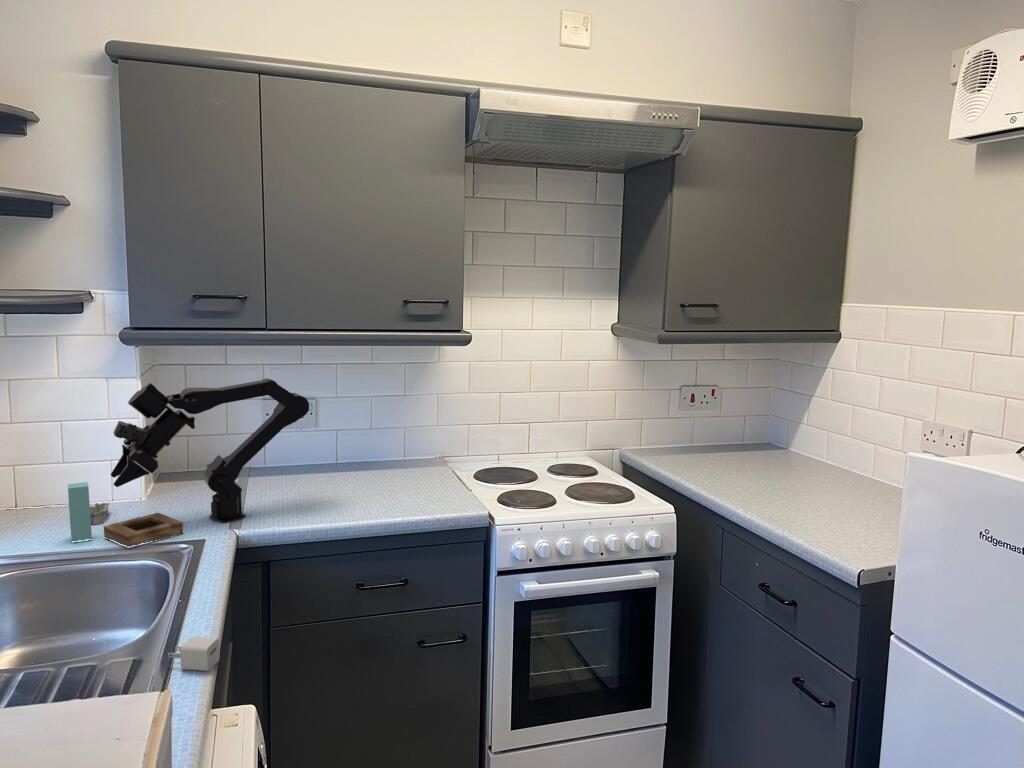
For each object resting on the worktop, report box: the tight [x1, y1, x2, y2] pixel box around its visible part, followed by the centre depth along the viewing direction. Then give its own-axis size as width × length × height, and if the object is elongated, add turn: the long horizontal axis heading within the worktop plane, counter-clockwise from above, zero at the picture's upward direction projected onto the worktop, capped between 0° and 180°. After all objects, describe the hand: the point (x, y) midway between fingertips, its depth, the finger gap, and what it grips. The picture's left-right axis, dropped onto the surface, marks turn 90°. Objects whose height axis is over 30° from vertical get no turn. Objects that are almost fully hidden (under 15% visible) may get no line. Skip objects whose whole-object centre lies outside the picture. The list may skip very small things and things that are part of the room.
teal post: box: [67, 481, 93, 542], centre depth 169 cm, size 4×4×13 cm
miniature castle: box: [90, 501, 111, 525], centre depth 184 cm, size 11×8×4 cm
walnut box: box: [103, 512, 184, 546], centre depth 173 cm, size 13×11×3 cm
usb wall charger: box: [167, 636, 221, 672], centre depth 117 cm, size 4×7×4 cm, turn 85°
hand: (113, 481), depth 172 cm, fingers open, 9 cm apart
